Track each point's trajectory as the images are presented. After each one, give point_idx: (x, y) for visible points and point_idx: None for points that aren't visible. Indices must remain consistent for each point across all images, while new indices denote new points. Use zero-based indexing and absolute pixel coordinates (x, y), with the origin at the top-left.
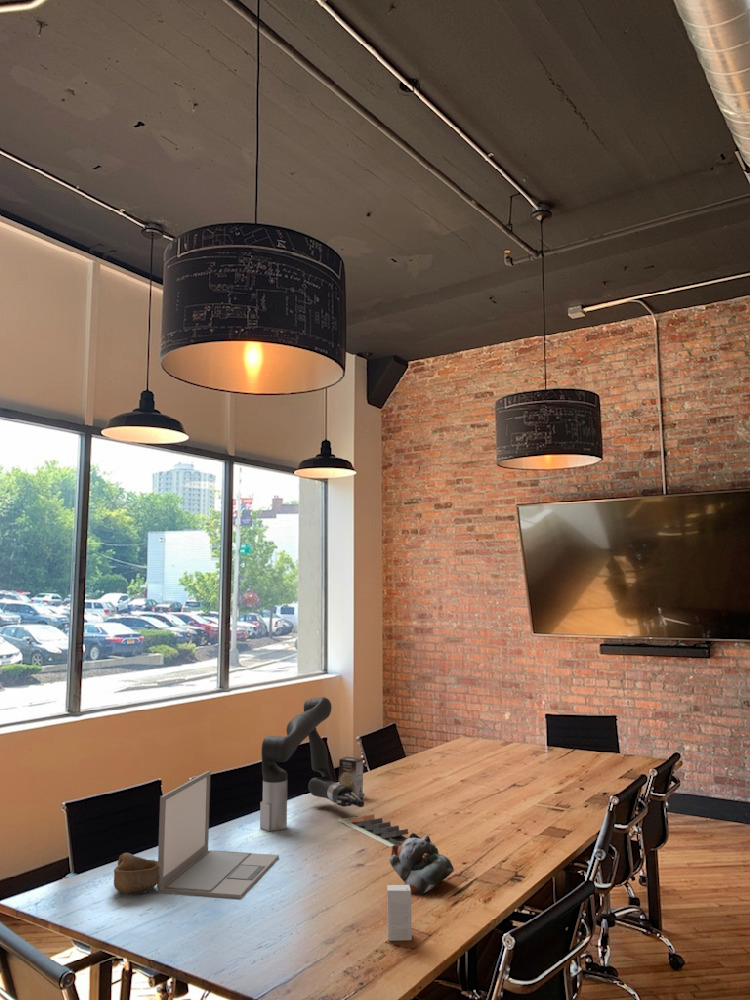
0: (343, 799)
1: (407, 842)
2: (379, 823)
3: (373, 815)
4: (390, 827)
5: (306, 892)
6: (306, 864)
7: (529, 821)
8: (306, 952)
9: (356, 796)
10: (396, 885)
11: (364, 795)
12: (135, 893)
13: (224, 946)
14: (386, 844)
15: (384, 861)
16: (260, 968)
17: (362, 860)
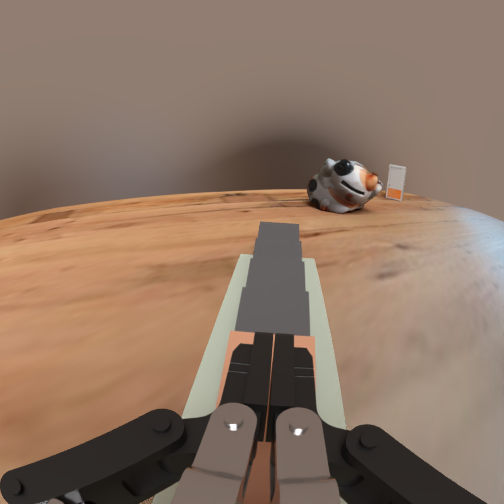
0: (437, 478)
1: (360, 164)
2: (282, 279)
3: (237, 334)
4: (287, 241)
5: (469, 237)
6: (489, 273)
7: (10, 235)
8: (452, 210)
9: (210, 473)
10: (398, 166)
11: (21, 479)
12: None
13: (501, 226)
14: (314, 266)
15: (357, 240)
16: (474, 213)
17: (395, 252)
